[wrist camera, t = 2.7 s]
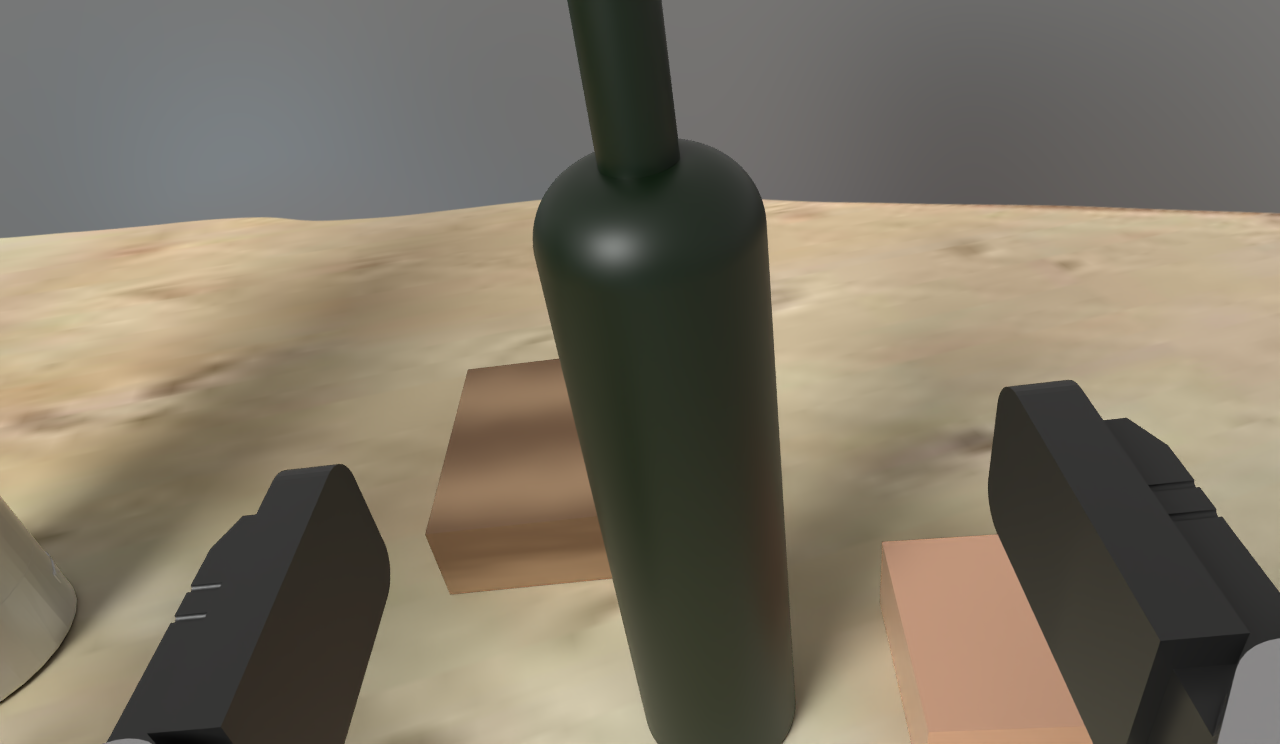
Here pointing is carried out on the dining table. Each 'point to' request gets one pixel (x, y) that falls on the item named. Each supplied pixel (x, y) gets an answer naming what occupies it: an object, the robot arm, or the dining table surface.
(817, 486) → the dining table surface
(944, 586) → the terracotta block
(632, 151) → the wine bottle
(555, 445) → the walnut block
